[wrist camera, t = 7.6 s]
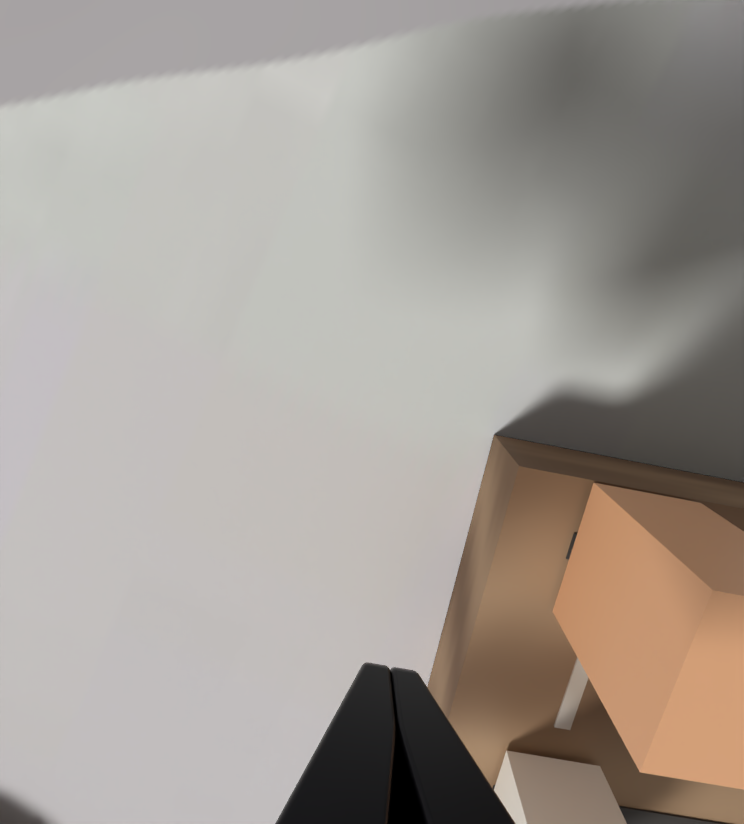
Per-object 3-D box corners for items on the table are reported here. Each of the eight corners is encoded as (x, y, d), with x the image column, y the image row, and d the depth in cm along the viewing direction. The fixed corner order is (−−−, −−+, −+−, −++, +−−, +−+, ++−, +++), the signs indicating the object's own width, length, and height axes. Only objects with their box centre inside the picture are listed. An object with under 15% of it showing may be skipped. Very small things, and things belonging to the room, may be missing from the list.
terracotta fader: (653, 629, 15) (788, 796, 10) (552, 611, 15) (640, 772, 10) (700, 502, 14) (876, 620, 9) (593, 482, 14) (713, 590, 9)
